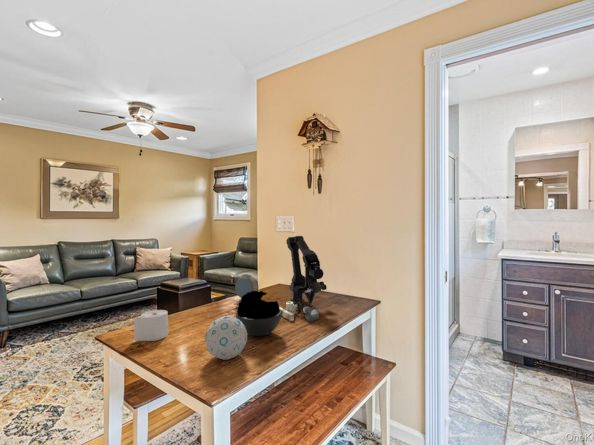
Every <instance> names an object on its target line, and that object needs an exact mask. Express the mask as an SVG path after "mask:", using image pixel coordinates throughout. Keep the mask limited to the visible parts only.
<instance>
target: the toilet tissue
mask: <svg viewBox="0 0 594 445" xmlns="http://www.w3.org/2000/svg"><path fill="white" fill-rule="evenodd" d="M168 316H169V315H168V310H165V309H155V310H154V309H153V310H148V311H146V312H143V313H142V314H141V313H140V318H137V317H136V318H135V317H134V318H133V333H134V334H133V336H134V339H133V340H134V341H135V342H154V341H159V340H162V339H164V338H166V337H167V336H168V335H169V317H168Z"/></svg>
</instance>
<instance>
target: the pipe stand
mask: <svg viewBox="0 0 594 445" xmlns="http://www.w3.org/2000/svg"><path fill="white" fill-rule="evenodd" d="M302 311H303V313H305V315H304V316H305V320H306V321H307V322H311V321H316V320H317V321H318V320H319V314H320V312H319V311H320V310H319V307H316V306H312V307H310V306H308V305H305V306H303V310H302Z"/></svg>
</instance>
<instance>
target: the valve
mask: <svg viewBox="0 0 594 445" xmlns="http://www.w3.org/2000/svg"><path fill="white" fill-rule="evenodd" d="M295 301H296V302H294V301H287V302H286V303H285V310H287V311H288V312H290V313H292V314H294V311H295V310H297V311H303V308H304V307H305V306H306V304H305V303H304V301H303V300H302V301H300V298H299V299H298V300H297V299H296V300H295Z"/></svg>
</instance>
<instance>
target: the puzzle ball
mask: <svg viewBox="0 0 594 445" xmlns="http://www.w3.org/2000/svg"><path fill="white" fill-rule="evenodd" d="M247 341H248V333H247V331H246V328H245V326H244V325H243V323H242V322H241V321H240V320H239V319H237V318H236V316H232V315H231V316H230V315H225V316H221V317H218V318H216V319H215V320H214V321H212V322H211V324H210V325H209V326H208V327H207V330H206V332H205V341H204V342H205V346H206V349H207V351H208V353H209V354H210V355H212V357H215V358H217V359H220V360H224V361H229V360H231V359H233V358H235V357H237V356H238V355H240V354H241V353H242V352H243V350H244V349H245V347H246V344H247Z"/></svg>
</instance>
